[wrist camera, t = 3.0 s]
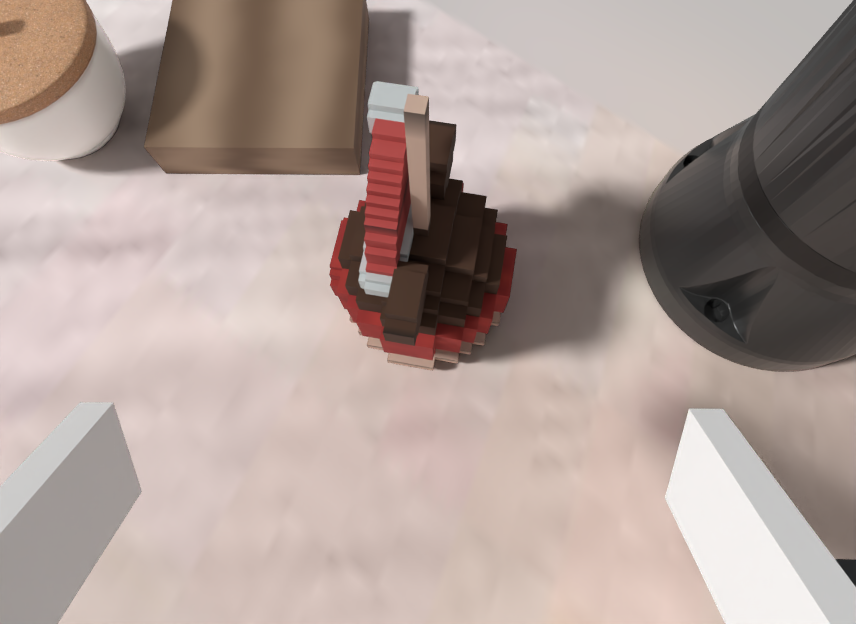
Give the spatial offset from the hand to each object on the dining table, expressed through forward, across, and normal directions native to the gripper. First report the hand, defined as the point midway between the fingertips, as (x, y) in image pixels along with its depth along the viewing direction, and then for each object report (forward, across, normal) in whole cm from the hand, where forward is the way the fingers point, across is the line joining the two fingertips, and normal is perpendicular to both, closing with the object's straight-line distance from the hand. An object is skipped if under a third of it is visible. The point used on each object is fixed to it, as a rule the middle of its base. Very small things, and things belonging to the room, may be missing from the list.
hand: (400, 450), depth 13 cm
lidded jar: (+30, -24, +3) cm, 39 cm away
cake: (+21, 0, -6) cm, 22 cm away
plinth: (+31, -11, +5) cm, 34 cm away
